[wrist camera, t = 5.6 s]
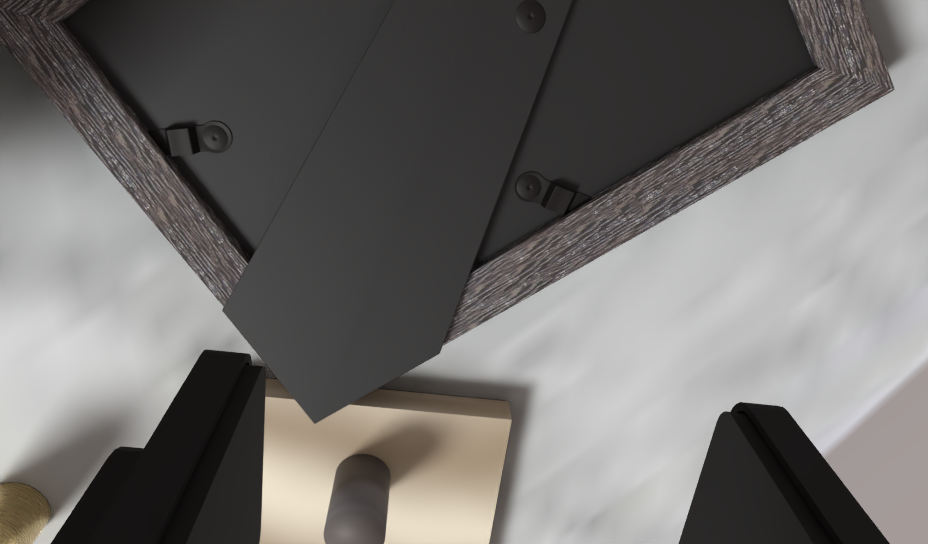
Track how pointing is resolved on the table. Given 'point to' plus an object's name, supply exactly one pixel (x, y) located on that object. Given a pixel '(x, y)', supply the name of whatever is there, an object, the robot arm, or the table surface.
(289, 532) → the board
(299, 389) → the picture frame
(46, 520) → the brass pin
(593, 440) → the table surface
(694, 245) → the table surface
